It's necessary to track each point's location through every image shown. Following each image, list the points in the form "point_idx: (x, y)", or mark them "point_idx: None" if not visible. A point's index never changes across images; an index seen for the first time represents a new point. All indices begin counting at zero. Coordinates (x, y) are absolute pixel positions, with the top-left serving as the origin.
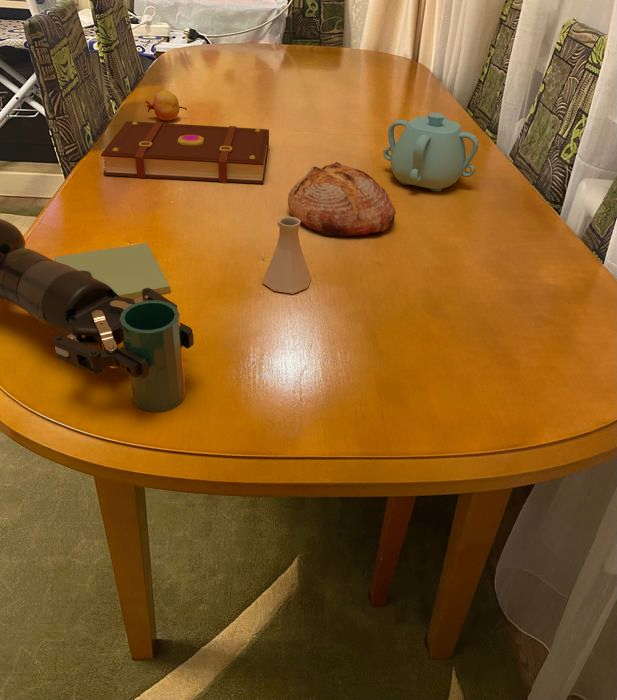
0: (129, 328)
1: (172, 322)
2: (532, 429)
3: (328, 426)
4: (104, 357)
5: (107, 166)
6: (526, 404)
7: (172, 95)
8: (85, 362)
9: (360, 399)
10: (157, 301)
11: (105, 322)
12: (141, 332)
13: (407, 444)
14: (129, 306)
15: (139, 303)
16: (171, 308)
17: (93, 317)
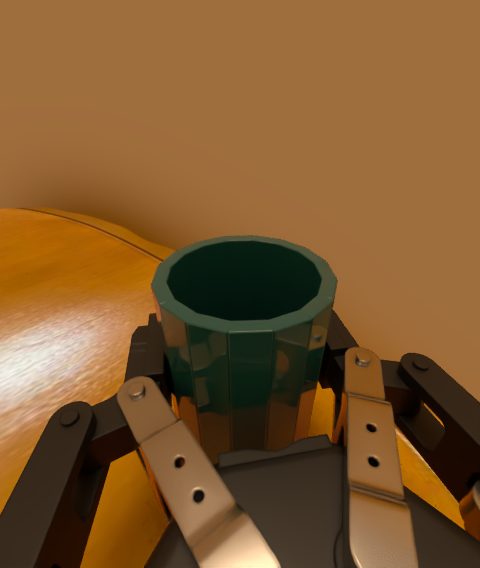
0: (324, 261)
1: (216, 239)
2: (43, 221)
3: (130, 281)
4: (386, 360)
5: None
6: (7, 228)
7: None
8: (436, 441)
9: (65, 285)
10: (169, 304)
11: (354, 456)
12: (301, 247)
13: (112, 247)
14: (270, 328)
15: (228, 322)
16: (170, 268)
17: (409, 517)
